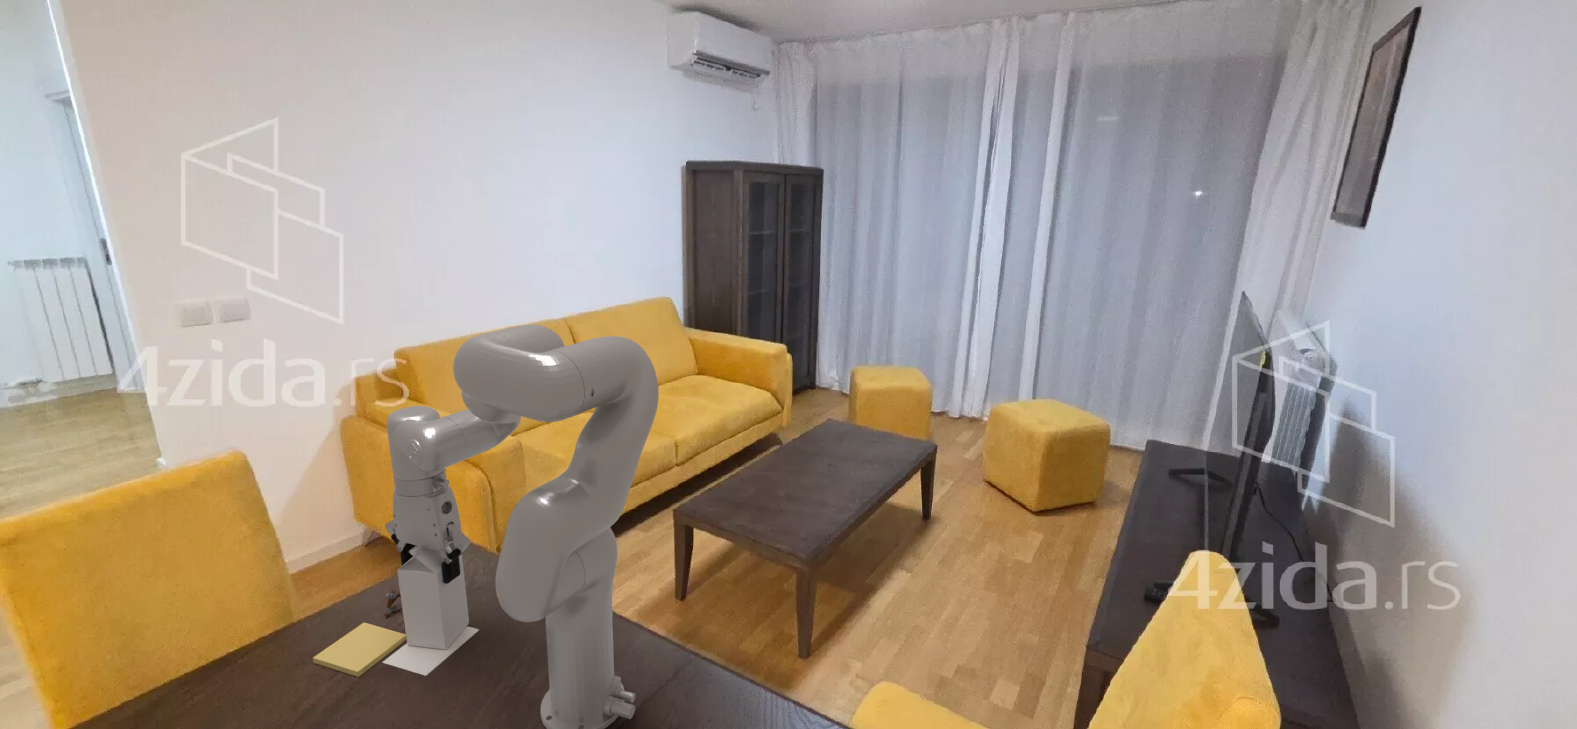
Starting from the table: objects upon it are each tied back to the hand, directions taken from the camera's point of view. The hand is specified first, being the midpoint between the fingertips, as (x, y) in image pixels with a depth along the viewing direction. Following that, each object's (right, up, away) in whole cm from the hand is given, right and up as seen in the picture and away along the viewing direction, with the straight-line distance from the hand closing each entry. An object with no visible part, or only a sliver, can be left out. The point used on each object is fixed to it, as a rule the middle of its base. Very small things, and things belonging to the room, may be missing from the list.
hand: (431, 573), depth 112 cm
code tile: (0, -13, +1) cm, 13 cm away
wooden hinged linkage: (-11, -10, +11) cm, 18 cm away
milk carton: (-1, -12, +3) cm, 13 cm away
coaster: (-11, -13, -1) cm, 17 cm away
